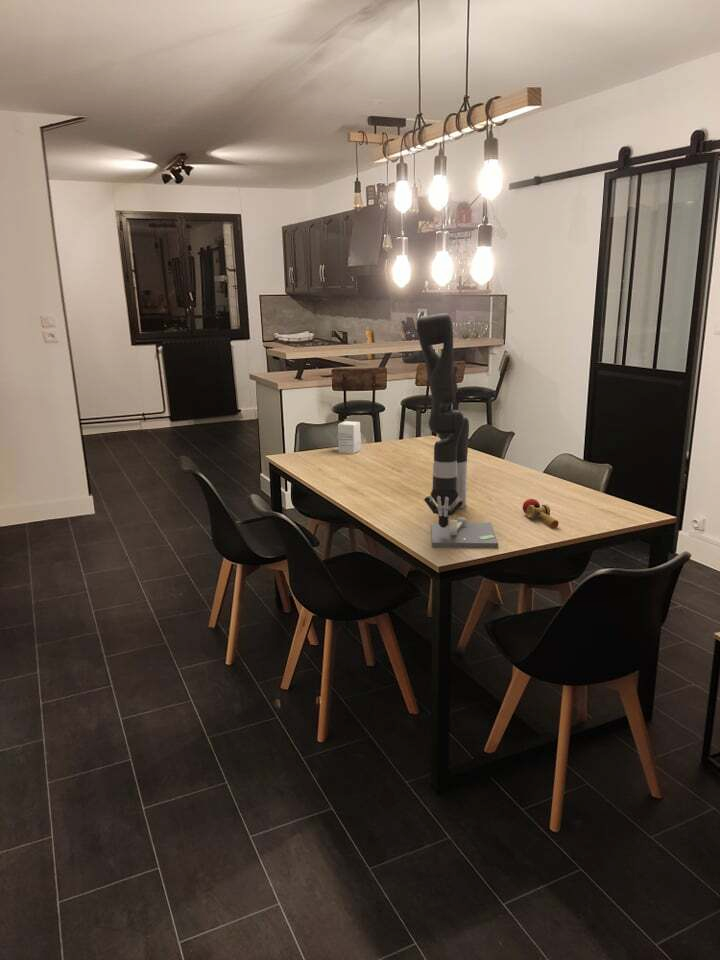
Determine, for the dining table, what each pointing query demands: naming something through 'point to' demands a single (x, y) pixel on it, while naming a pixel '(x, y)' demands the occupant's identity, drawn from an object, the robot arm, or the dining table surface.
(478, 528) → the dial plate
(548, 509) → the kendama
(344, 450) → the supplement box
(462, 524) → the pale grey bar
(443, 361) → the robot arm
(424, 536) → the dining table surface
